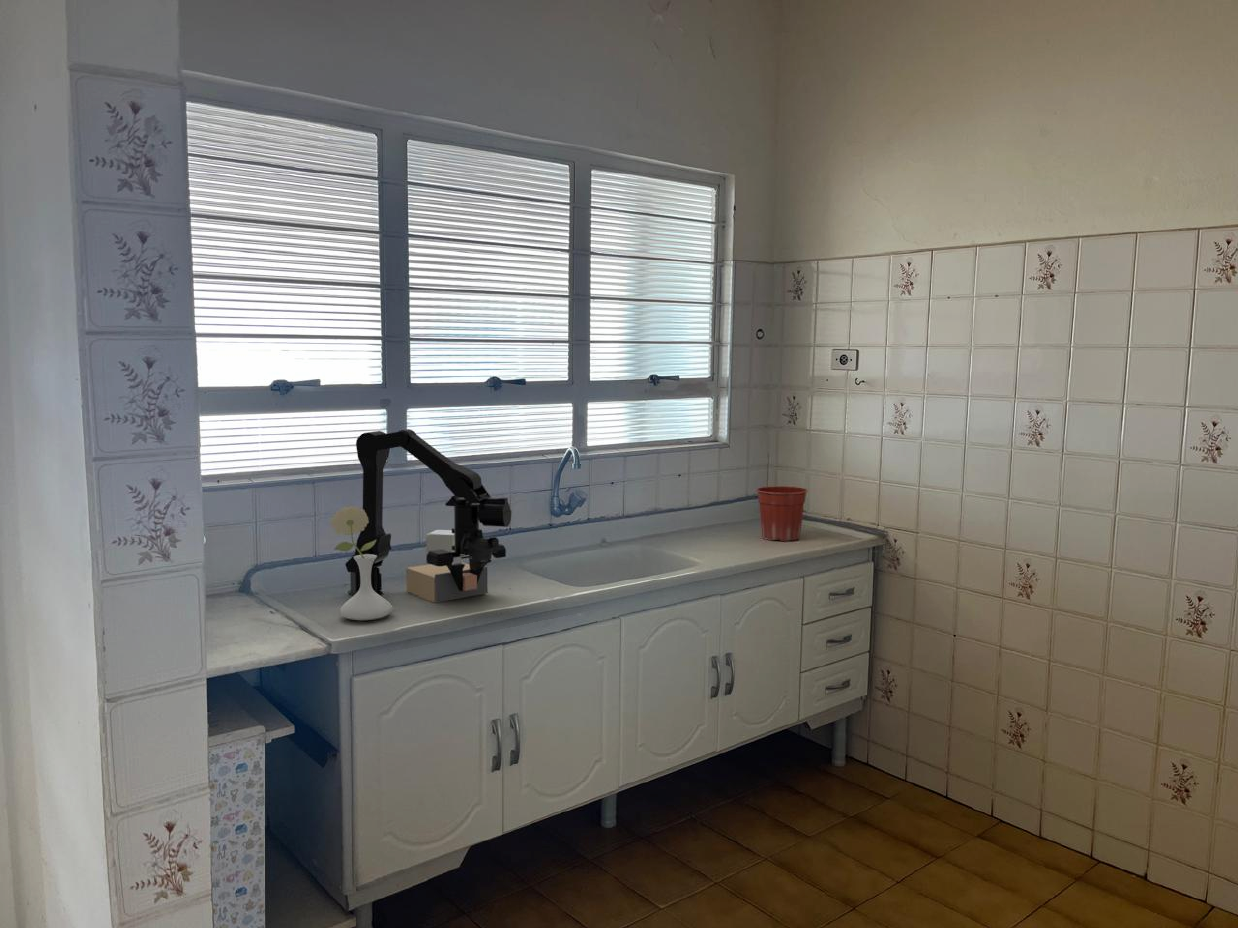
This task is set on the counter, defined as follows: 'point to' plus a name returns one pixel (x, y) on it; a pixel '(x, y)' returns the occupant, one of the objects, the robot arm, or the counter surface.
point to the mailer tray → (452, 591)
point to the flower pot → (781, 511)
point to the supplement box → (440, 541)
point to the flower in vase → (360, 568)
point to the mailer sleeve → (426, 580)
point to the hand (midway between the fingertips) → (467, 589)
